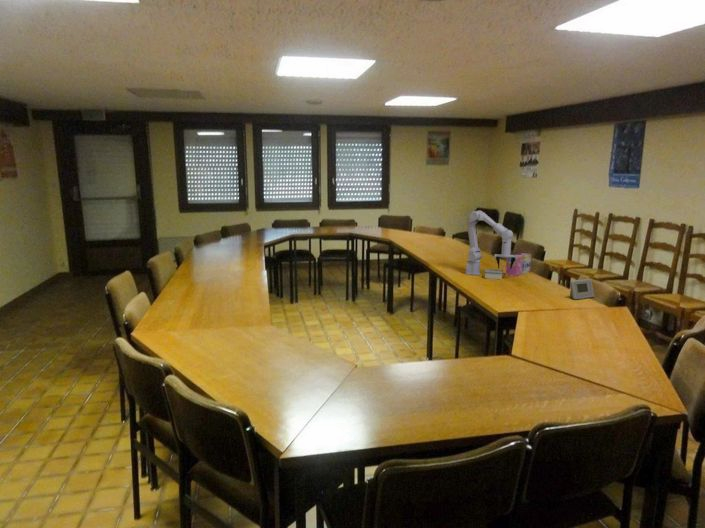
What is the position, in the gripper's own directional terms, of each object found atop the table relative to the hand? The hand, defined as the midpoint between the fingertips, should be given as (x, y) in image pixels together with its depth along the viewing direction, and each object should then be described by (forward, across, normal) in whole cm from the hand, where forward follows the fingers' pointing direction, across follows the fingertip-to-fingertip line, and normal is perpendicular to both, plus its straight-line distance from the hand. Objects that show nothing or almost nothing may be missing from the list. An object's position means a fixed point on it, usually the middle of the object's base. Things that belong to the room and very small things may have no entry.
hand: (504, 268), depth 321 cm
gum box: (+7, +10, +21) cm, 24 cm away
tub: (+7, -7, 0) cm, 10 cm away
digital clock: (+8, +42, -35) cm, 55 cm away
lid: (+3, -6, 0) cm, 7 cm away
